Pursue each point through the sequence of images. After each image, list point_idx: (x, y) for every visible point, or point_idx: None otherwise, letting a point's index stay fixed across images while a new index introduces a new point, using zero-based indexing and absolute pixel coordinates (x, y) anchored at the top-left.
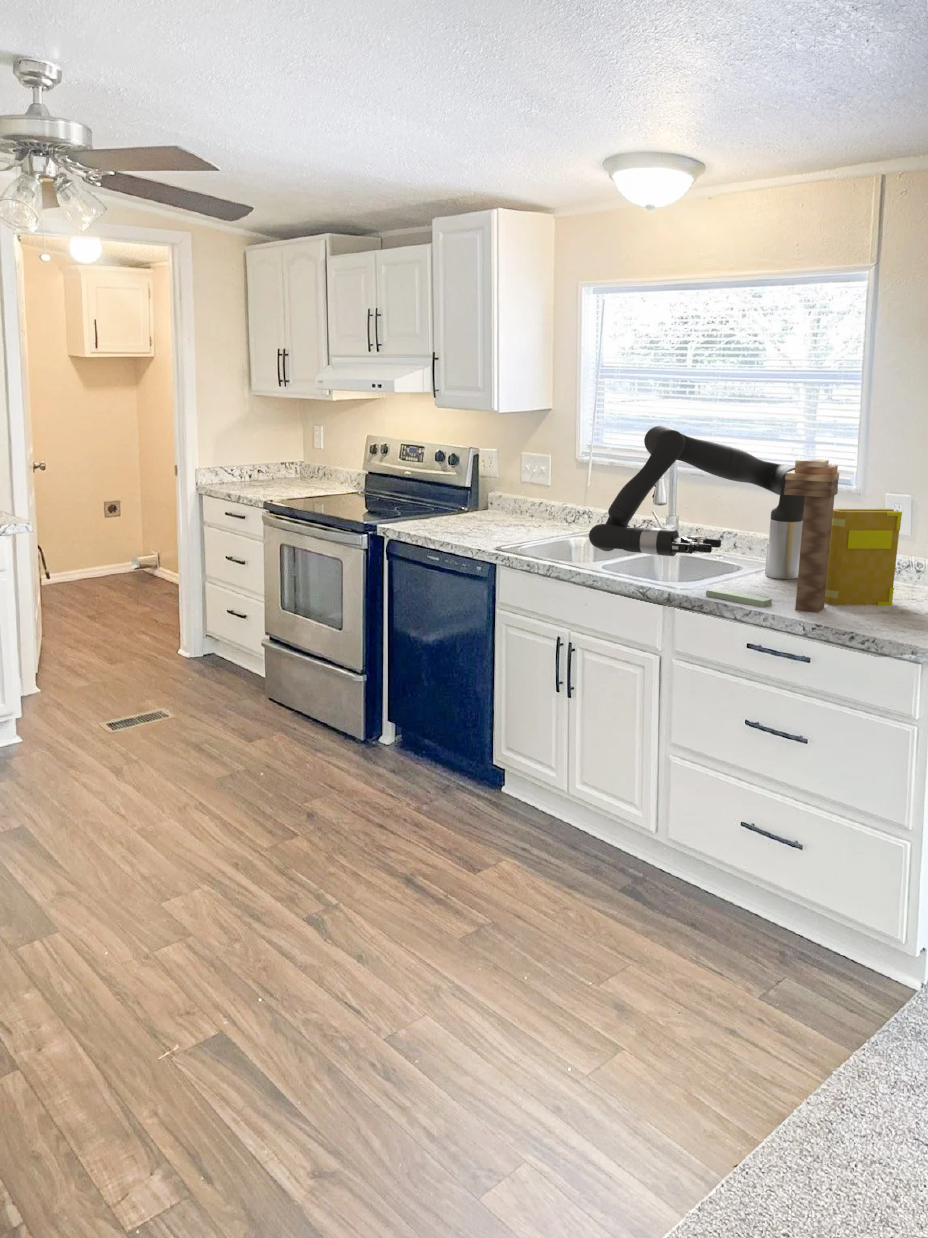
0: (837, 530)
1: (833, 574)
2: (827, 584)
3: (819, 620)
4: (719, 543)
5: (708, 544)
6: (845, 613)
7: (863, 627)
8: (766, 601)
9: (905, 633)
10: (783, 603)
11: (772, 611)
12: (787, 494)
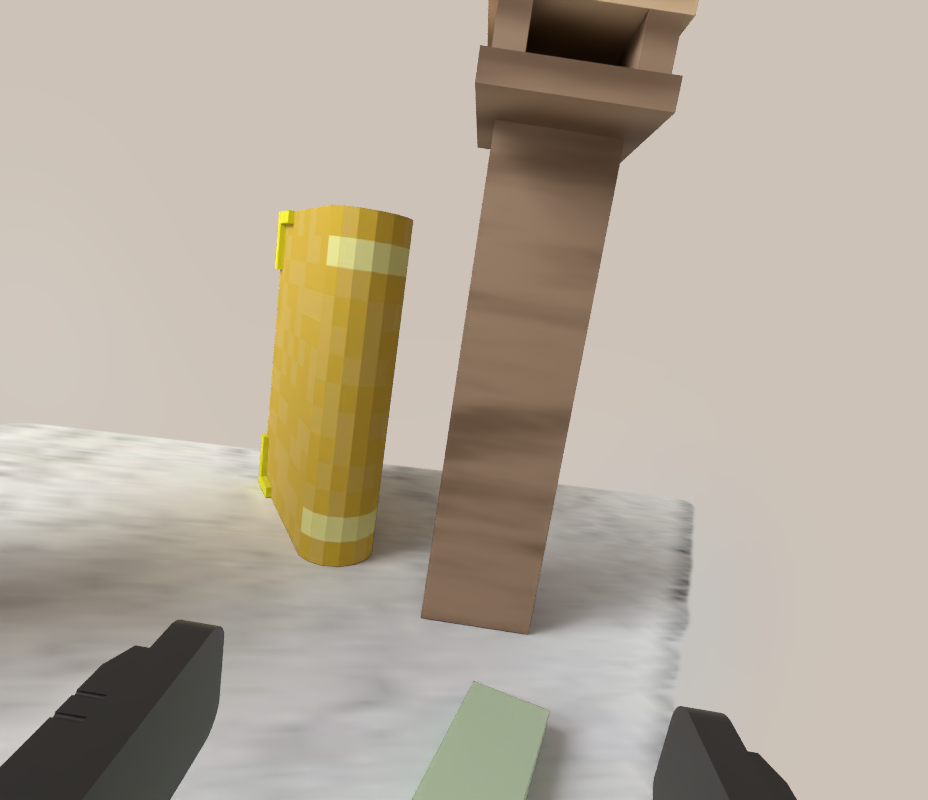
0: (400, 293)
1: (380, 455)
2: (362, 498)
3: (619, 589)
4: (214, 676)
5: (725, 738)
6: None
7: (610, 533)
8: (522, 704)
9: (599, 497)
10: (417, 666)
11: (607, 700)
12: (668, 117)
